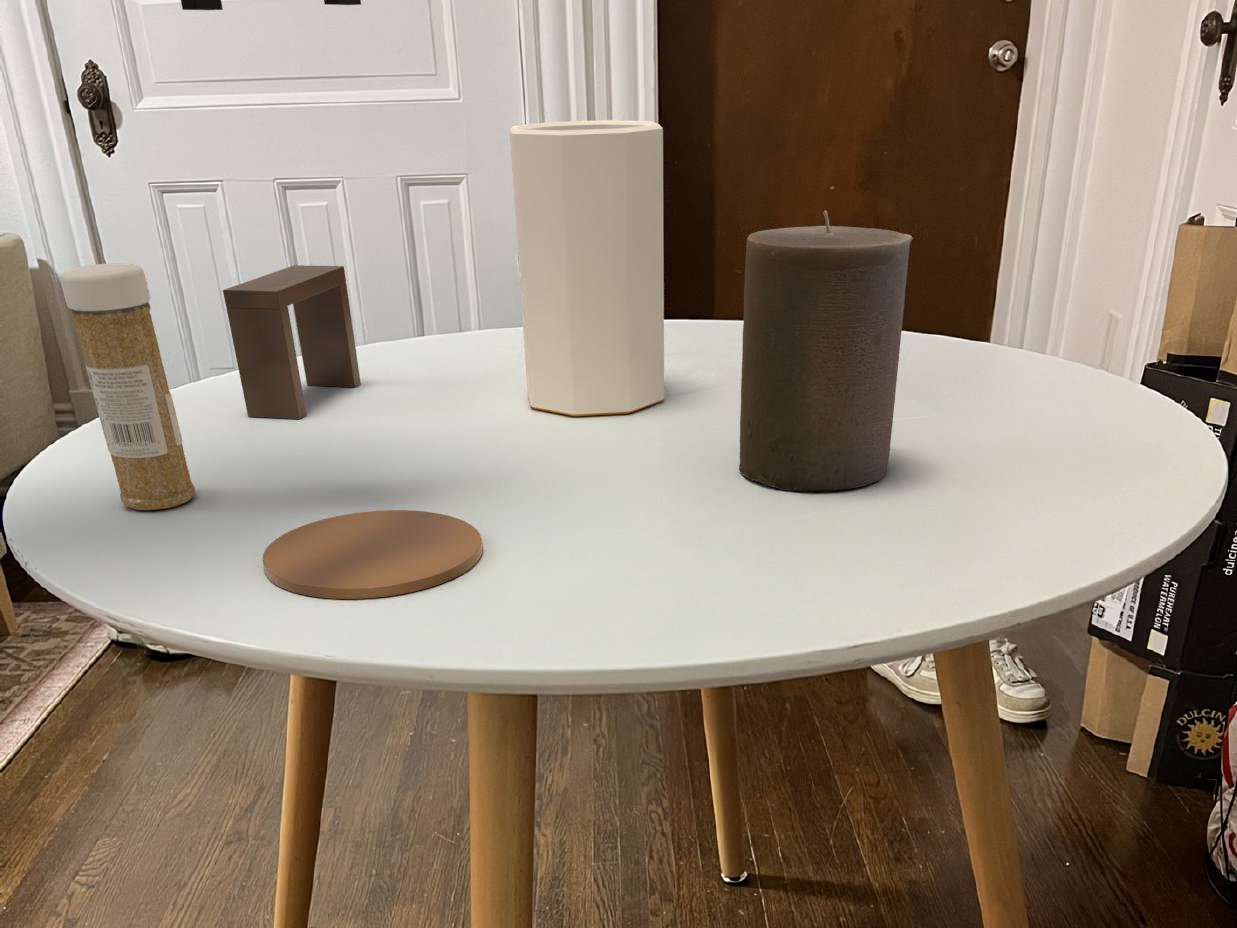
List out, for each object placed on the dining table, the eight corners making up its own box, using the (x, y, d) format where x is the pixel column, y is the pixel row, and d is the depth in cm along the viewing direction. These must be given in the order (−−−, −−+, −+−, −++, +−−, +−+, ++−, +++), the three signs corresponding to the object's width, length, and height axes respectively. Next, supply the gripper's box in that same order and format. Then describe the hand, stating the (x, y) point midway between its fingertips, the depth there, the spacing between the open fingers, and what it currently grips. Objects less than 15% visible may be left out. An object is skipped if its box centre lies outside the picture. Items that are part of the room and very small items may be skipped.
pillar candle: (752, 496, 72) (762, 224, 64) (728, 450, 81) (734, 203, 72) (907, 489, 73) (937, 217, 65) (868, 444, 81) (890, 197, 73)
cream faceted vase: (501, 394, 95) (479, 125, 84) (622, 374, 99) (615, 117, 89) (564, 425, 87) (549, 133, 76) (692, 403, 91) (694, 123, 81)
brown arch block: (247, 416, 91) (222, 289, 86) (313, 382, 99) (293, 265, 94) (299, 419, 90) (277, 291, 85) (361, 384, 98) (344, 265, 93)
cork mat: (222, 589, 62) (220, 578, 62) (325, 514, 72) (323, 504, 71) (434, 607, 60) (433, 596, 59) (511, 526, 69) (510, 516, 69)
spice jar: (209, 491, 76) (158, 261, 68) (172, 514, 72) (113, 274, 65) (146, 487, 77) (88, 260, 69) (105, 510, 73) (40, 273, 65)
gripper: (429, -685, 48) (482, 1, 61) (6, -614, 52) (140, 14, 65) (351, -785, 42) (428, -2, 55) (-119, -696, 46) (55, 13, 59)
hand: (272, 6), depth 60 cm, fingers closed on tape roll, 7 cm apart
